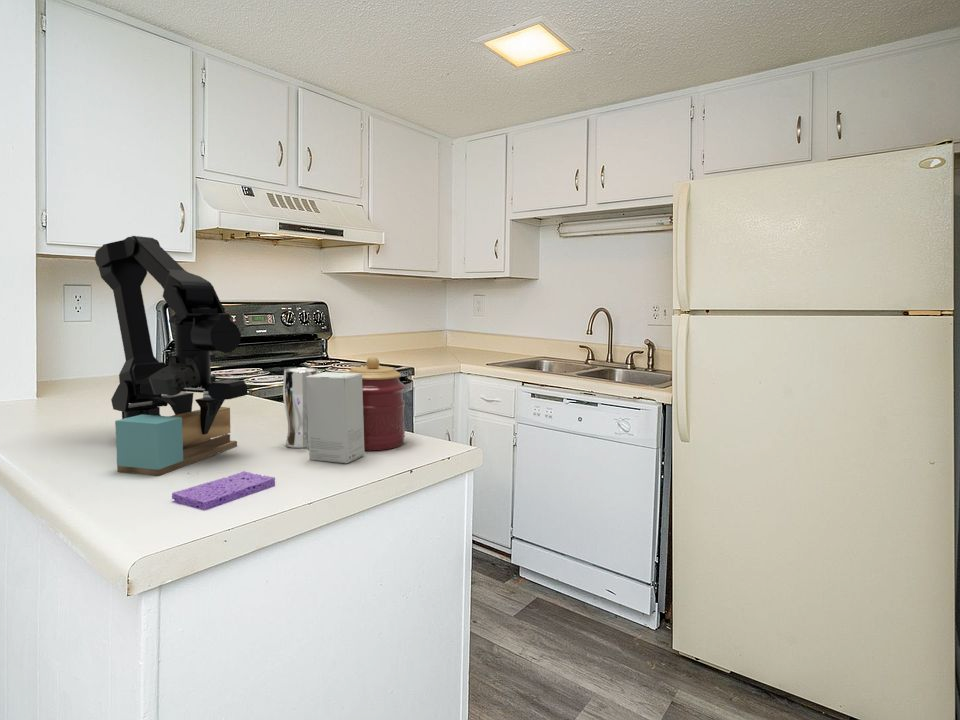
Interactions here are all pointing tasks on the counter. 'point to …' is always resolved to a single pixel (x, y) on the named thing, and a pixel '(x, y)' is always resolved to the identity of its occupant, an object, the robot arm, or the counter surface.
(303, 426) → the silver tall cylinder
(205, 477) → the counter surface
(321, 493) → the counter surface
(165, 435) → the end cap
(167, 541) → the counter surface
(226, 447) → the board
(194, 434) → the wooden block
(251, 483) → the sponges
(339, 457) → the skincare box
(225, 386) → the robot arm
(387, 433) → the canister
